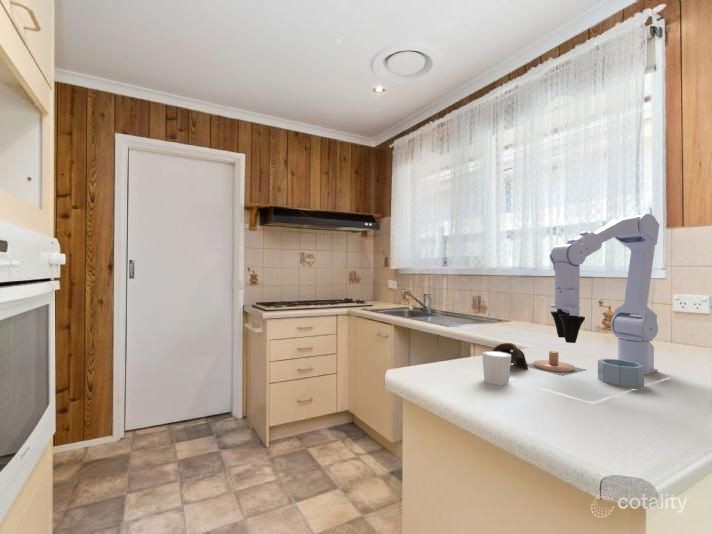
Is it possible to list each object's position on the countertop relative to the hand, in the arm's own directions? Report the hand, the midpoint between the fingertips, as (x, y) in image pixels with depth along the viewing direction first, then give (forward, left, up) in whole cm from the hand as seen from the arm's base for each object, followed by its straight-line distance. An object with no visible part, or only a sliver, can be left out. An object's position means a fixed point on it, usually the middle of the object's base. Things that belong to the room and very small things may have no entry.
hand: (566, 339), depth 98 cm
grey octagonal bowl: (-6, +10, -10) cm, 15 cm away
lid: (-4, -6, -9) cm, 12 cm away
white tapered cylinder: (+21, -6, -10) cm, 24 cm away
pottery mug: (+7, -13, -10) cm, 18 cm away
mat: (-4, -6, -10) cm, 12 cm away
